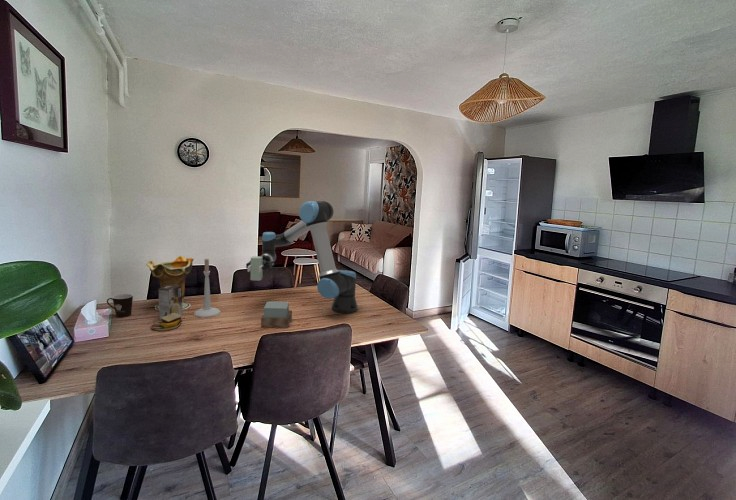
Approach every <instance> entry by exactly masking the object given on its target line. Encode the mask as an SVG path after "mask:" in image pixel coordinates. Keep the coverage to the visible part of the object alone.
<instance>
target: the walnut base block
mask: <svg viewBox="0 0 736 500" xmlns="http://www.w3.org/2000/svg"><path fill="white" fill-rule="evenodd" d="M292 319H293V310H290V309H289V312H288V315H287V317H286V318H264V314H263V315H262V316H261V318H260V327H261V328H278V329H279V328H281V329H288V328H289V326H290V324H291V321H292Z"/></svg>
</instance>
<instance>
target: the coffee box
mask: <svg viewBox="0 0 736 500" xmlns="http://www.w3.org/2000/svg"><path fill="white" fill-rule="evenodd" d="M157 290H158V305H159V310H158V311H159V314H158V315H159V320H161V318H162V317H164V316H167V315H169V314H171V313H177V314H180V315H181V317H182V316H183V314H184V313H183V310H184V309H183V310H182V302H183V301H182V286H180V285H168V286H165V287H162V288H161V287H160V288H157Z"/></svg>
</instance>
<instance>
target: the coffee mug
mask: <svg viewBox="0 0 736 500" xmlns="http://www.w3.org/2000/svg"><path fill="white" fill-rule="evenodd" d="M133 299H134V295H133V294H132V293H121V294H117V295H113V296H112V297H109V298H107V299H106V304H107V305H108V306H109V307H110V308H112V309H114V313H115V317H116V318H121V319H122V318H127V317H130V316H132V310H133V301H134V300H133ZM109 300H111V301H112V302H113V305H111V304H110V303H109Z"/></svg>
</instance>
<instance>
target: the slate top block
mask: <svg viewBox="0 0 736 500" xmlns="http://www.w3.org/2000/svg"><path fill="white" fill-rule="evenodd" d="M289 310H290V301H267V302H266V303H265V305H264V307H263V315H264V318H286V317H287V315H288V312H289Z"/></svg>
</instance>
